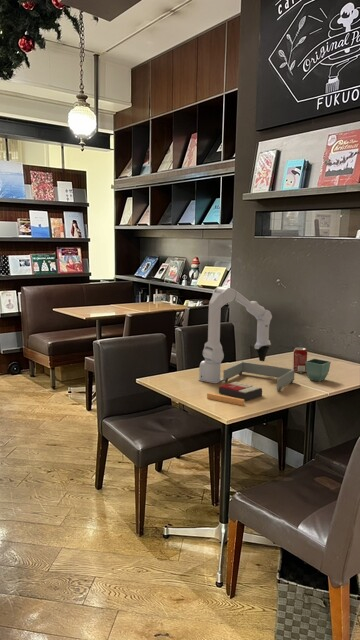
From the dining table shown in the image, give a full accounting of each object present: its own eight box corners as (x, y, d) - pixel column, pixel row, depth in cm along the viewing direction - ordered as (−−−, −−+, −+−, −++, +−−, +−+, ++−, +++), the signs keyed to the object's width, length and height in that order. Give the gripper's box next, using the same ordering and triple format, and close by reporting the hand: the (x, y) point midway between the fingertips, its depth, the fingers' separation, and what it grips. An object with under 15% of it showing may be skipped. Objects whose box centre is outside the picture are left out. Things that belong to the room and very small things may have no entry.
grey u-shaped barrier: (223, 382, 212) (223, 369, 212) (241, 373, 229) (242, 361, 228) (278, 392, 198) (279, 379, 197) (294, 381, 214) (294, 369, 213)
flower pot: (321, 383, 213) (322, 364, 211) (304, 379, 218) (305, 361, 217) (330, 379, 219) (331, 361, 218) (312, 376, 225) (313, 358, 224)
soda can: (306, 373, 230) (308, 350, 228) (292, 372, 231) (293, 349, 229) (305, 370, 236) (307, 347, 234) (292, 369, 237) (293, 346, 236)
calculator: (235, 380, 204) (262, 386, 193) (235, 390, 204) (262, 396, 193) (218, 385, 197) (245, 391, 185) (218, 395, 197) (245, 402, 186)
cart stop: (207, 398, 189) (207, 393, 189) (208, 397, 191) (209, 392, 190) (242, 405, 181) (242, 400, 180) (244, 404, 182) (244, 399, 182)
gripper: (264, 336, 217) (263, 364, 219) (276, 332, 229) (275, 359, 231) (250, 335, 221) (250, 362, 223) (262, 331, 233) (262, 357, 235)
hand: (262, 360), depth 227 cm, fingers closed
